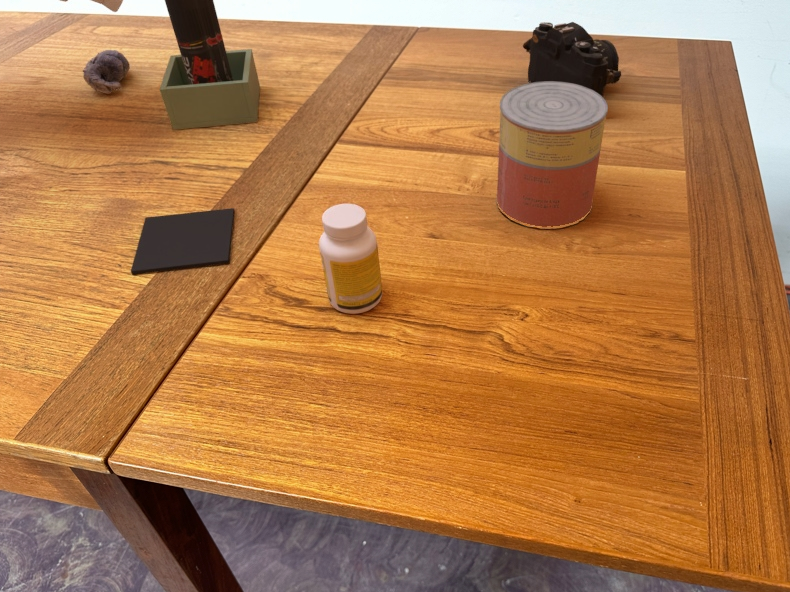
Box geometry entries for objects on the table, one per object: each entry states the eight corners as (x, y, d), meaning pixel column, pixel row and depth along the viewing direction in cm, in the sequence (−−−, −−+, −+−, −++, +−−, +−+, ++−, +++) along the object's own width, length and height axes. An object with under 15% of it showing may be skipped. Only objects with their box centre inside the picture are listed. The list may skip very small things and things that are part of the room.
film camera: (648, 97, 97) (663, 26, 90) (600, 127, 91) (611, 53, 84) (551, 64, 106) (557, -3, 99) (500, 89, 100) (503, 20, 93)
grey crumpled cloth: (112, 105, 101) (125, 79, 108) (125, 75, 98) (137, 51, 106) (75, 86, 98) (90, 61, 105) (87, 55, 96) (102, 31, 103)
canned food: (608, 193, 79) (625, 96, 71) (564, 241, 73) (577, 140, 64) (525, 167, 84) (532, 73, 75) (477, 209, 77) (479, 111, 69)
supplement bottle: (394, 297, 66) (386, 215, 60) (351, 323, 64) (337, 241, 57) (360, 273, 69) (348, 192, 62) (318, 297, 67) (301, 215, 60)
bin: (172, 130, 92) (159, 89, 88) (182, 94, 100) (170, 55, 96) (257, 122, 94) (247, 81, 89) (260, 87, 102) (251, 48, 98)
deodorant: (246, 97, 97) (219, -13, 87) (220, 114, 94) (189, 1, 83) (214, 90, 99) (184, -19, 89) (187, 107, 95) (152, -5, 85)
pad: (132, 275, 70) (130, 271, 69) (146, 220, 77) (145, 217, 76) (229, 263, 71) (228, 260, 70) (234, 211, 78) (233, 207, 77)
